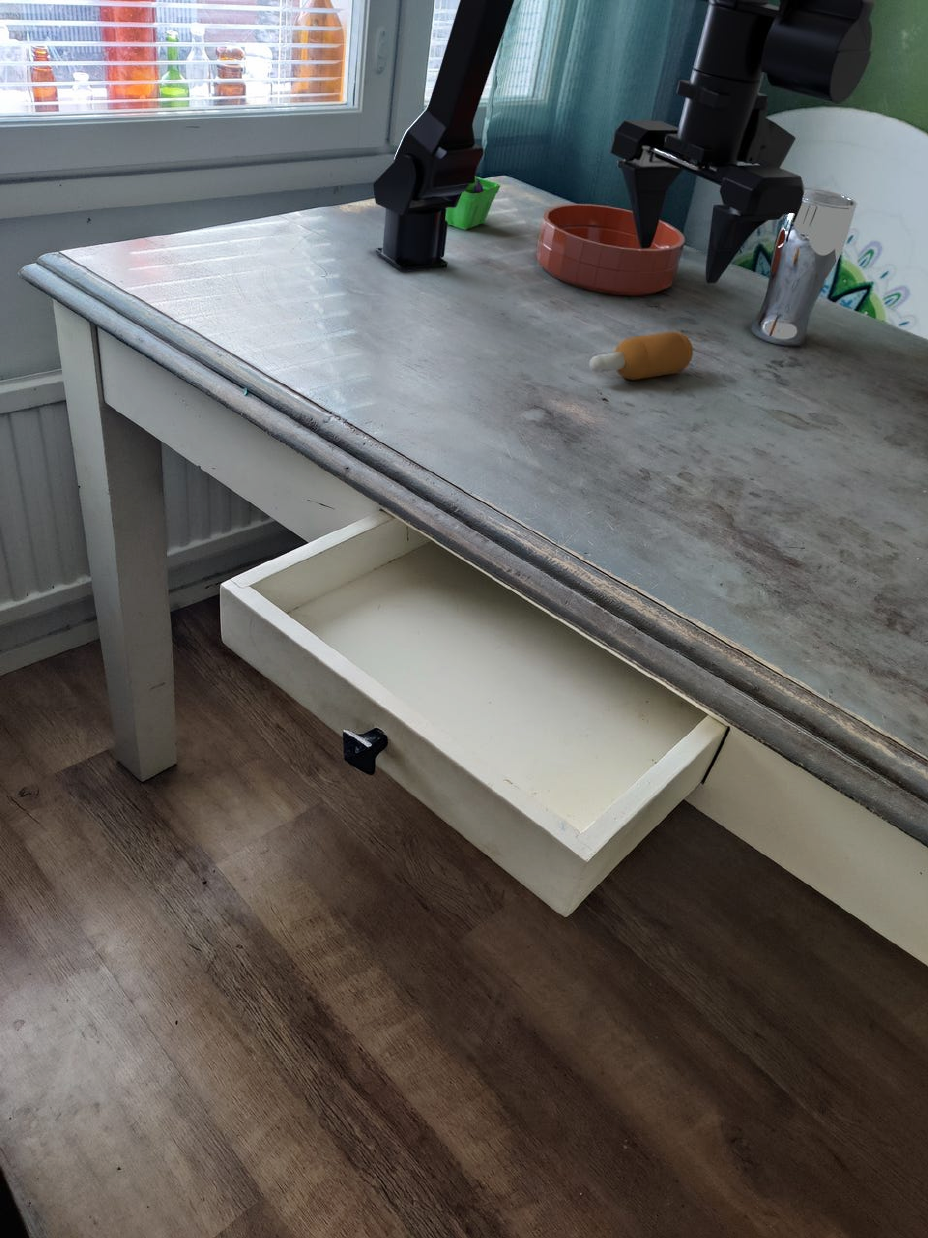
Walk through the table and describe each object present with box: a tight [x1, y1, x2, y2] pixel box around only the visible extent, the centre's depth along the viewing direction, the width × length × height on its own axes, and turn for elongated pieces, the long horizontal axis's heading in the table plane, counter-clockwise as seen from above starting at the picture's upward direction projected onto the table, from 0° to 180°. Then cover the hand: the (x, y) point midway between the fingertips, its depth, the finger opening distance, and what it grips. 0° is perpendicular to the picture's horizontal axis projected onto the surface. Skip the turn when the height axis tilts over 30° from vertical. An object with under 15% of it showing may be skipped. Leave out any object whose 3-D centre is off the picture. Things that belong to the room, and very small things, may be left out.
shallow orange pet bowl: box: [535, 203, 686, 296], centre depth 116 cm, size 17×17×6 cm
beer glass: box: [750, 187, 858, 347], centre depth 104 cm, size 7×7×15 cm
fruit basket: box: [445, 175, 501, 231], centre depth 123 cm, size 11×9×11 cm
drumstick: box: [589, 331, 694, 381], centre depth 93 cm, size 12×4×4 cm, turn 122°
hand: (676, 264), depth 88 cm, fingers open, 9 cm apart
